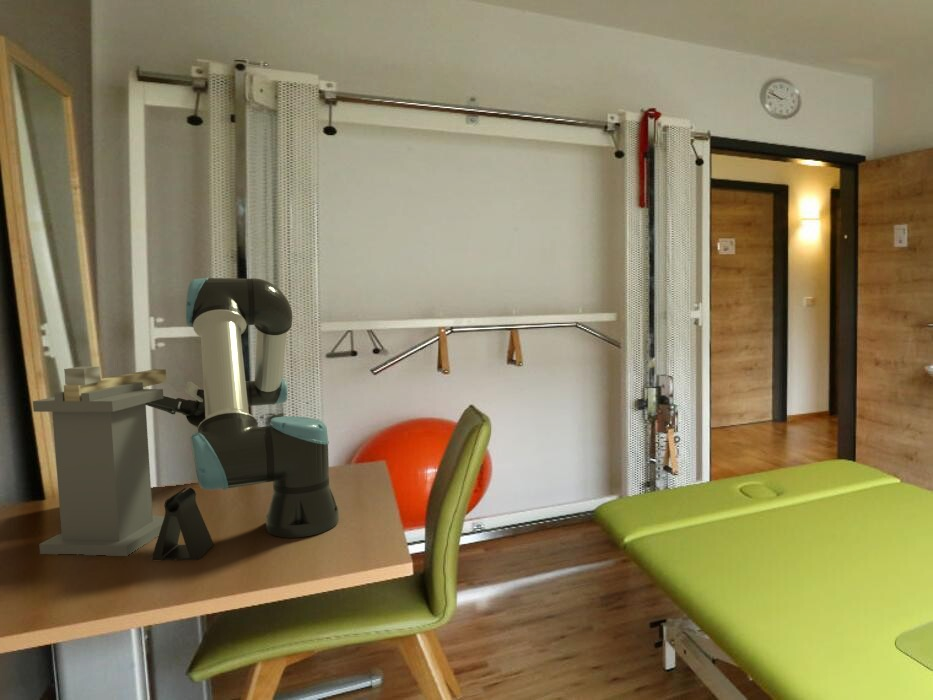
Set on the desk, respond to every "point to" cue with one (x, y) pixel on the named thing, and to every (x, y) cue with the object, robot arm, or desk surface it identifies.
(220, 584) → the desk surface
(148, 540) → the stand
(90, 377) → the beam
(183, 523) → the dark triangular holder
